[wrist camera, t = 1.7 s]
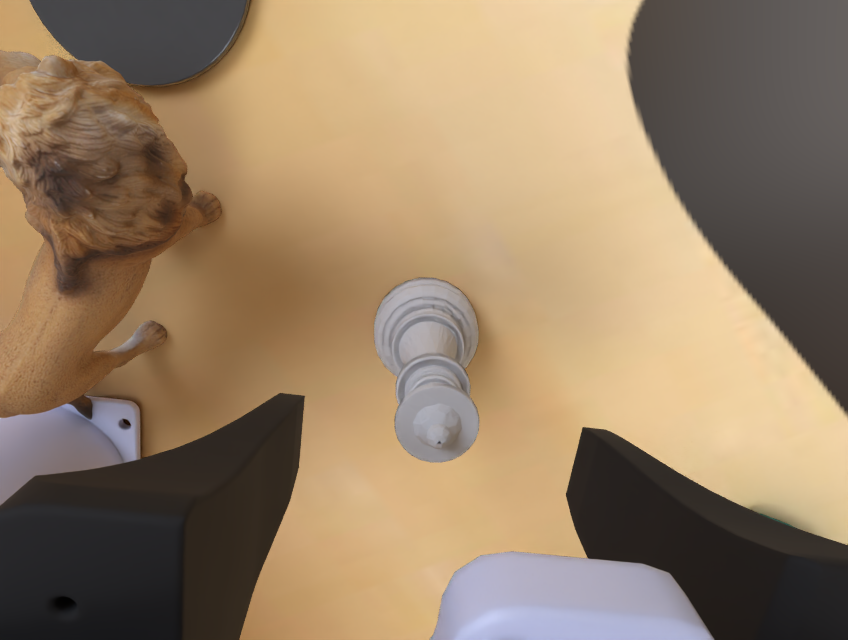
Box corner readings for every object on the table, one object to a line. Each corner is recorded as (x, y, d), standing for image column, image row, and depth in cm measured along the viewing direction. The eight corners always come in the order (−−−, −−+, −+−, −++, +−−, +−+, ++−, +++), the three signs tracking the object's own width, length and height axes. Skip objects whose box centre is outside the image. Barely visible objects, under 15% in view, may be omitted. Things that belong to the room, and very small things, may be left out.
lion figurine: (120, 59, 20) (-91, -13, 12) (257, 118, 21) (154, 91, 12) (39, 393, 24) (-165, 525, 15) (158, 433, 25) (26, 580, 16)
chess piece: (495, 335, 24) (555, 456, 14) (414, 391, 24) (421, 542, 15) (436, 255, 23) (460, 328, 13) (353, 315, 23) (318, 427, 14)
